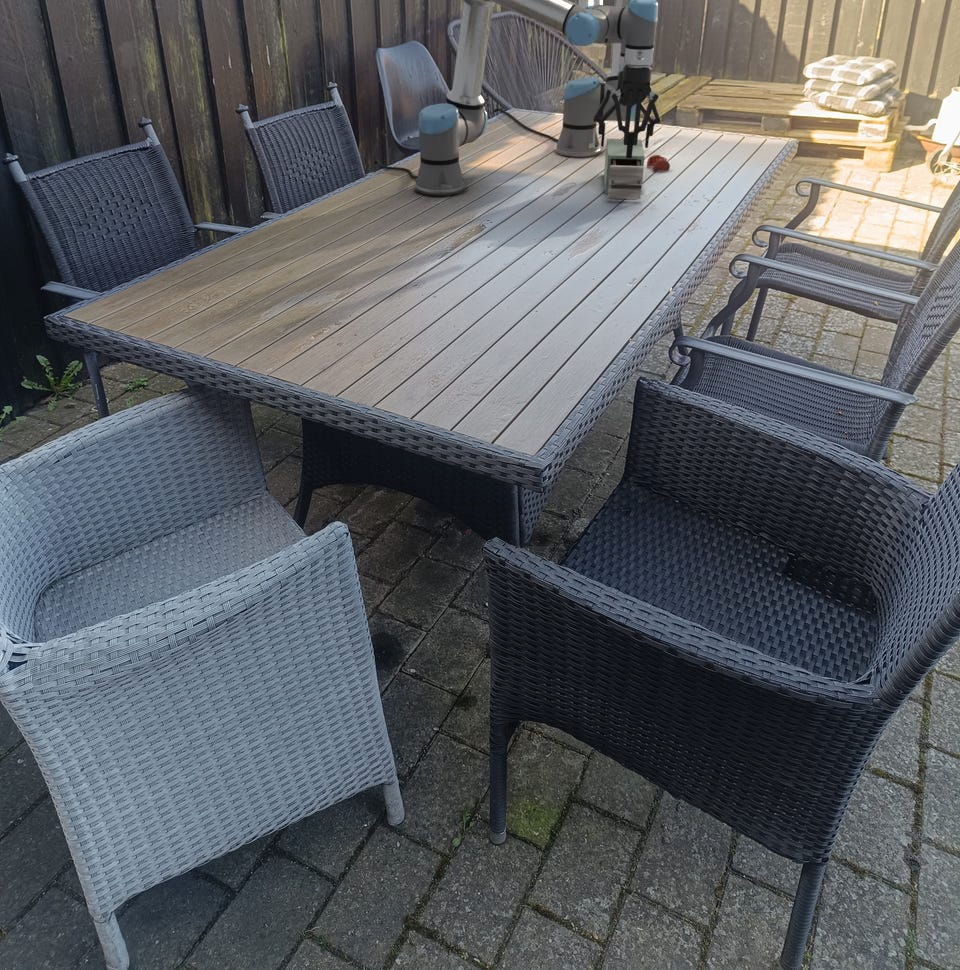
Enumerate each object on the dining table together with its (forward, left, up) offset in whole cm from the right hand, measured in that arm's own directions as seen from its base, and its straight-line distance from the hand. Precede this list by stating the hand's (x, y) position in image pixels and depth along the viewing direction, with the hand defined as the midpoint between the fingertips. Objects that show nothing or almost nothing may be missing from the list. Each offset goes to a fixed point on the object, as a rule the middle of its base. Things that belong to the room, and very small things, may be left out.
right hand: (624, 146), depth 262 cm
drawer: (+16, -6, -9) cm, 19 cm away
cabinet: (+5, -2, -10) cm, 12 cm away
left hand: (+25, -9, +3) cm, 26 cm away
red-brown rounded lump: (-8, +16, -10) cm, 21 cm away
